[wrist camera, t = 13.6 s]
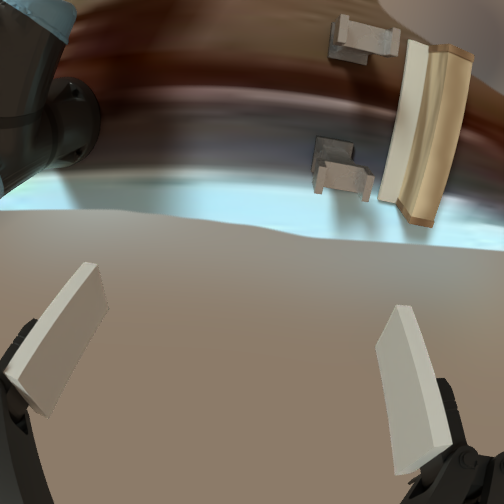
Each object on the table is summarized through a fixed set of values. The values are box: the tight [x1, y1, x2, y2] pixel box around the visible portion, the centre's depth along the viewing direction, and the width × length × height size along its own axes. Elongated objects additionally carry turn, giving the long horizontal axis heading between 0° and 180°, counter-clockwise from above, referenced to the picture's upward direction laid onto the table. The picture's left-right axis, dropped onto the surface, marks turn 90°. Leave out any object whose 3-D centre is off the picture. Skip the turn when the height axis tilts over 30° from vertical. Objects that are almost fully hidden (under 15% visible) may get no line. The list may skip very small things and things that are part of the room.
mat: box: [377, 39, 429, 203], centre depth 36 cm, size 10×24×1 cm, turn 175°
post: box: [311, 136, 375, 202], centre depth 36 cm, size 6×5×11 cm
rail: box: [396, 44, 474, 228], centre depth 33 cm, size 4×24×6 cm, turn 175°
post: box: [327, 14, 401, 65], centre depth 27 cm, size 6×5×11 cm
